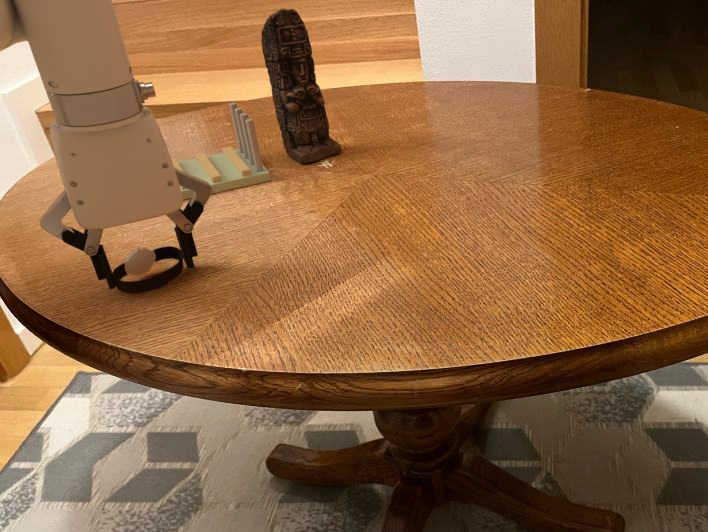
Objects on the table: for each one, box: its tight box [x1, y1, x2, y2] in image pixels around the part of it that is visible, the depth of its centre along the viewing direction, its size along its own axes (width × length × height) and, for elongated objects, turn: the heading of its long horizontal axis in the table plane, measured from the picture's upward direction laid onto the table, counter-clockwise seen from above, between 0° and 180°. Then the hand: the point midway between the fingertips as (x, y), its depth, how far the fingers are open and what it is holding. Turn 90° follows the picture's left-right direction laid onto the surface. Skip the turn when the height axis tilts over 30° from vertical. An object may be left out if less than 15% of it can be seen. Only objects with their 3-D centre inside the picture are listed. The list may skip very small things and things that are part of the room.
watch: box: [112, 245, 184, 294], centre depth 77 cm, size 8×5×4 cm, turn 143°
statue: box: [260, 8, 342, 164], centre depth 103 cm, size 7×7×20 cm
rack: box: [171, 102, 272, 201], centre depth 99 cm, size 18×12×8 cm, turn 118°
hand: (150, 272), depth 77 cm, fingers closed on watch, 7 cm apart
